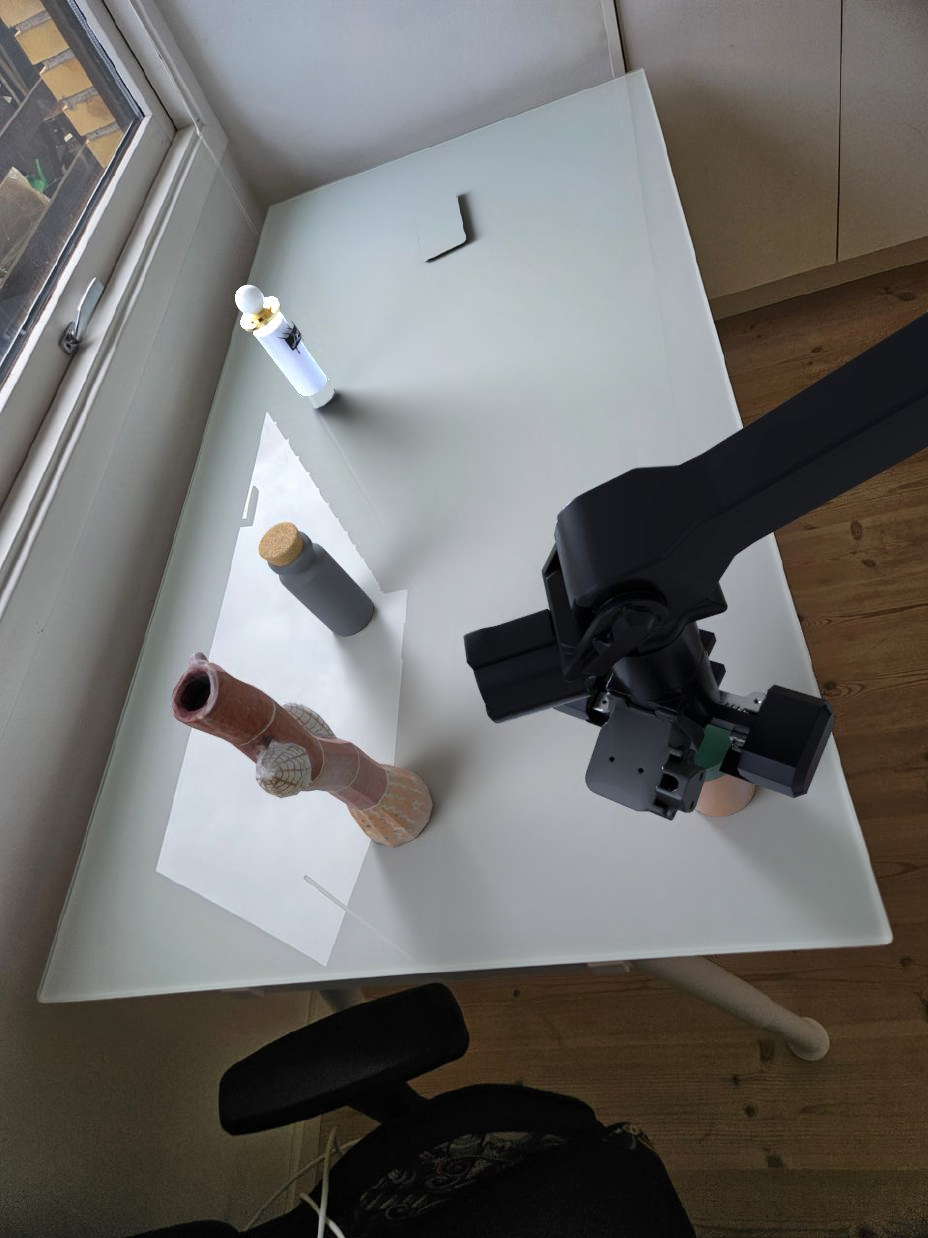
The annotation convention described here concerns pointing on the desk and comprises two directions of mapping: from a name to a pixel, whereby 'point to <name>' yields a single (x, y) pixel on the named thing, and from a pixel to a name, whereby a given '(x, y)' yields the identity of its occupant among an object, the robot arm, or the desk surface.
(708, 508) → the robot arm
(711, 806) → the honey jar
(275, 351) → the perfume bottle
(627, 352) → the desk surface
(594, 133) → the desk surface
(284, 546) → the bottle
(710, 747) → the jar lid
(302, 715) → the vase
